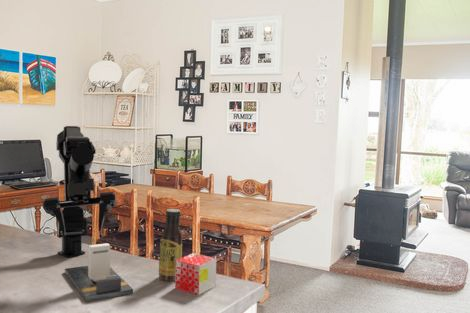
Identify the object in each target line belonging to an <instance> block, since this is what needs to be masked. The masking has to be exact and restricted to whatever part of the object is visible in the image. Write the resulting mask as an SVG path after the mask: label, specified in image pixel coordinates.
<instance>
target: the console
mask: <svg viewBox="0 0 470 313" xmlns="http://www.w3.org/2000/svg"><path fill="white" fill-rule="evenodd" d="M64 274H65V275H66V277H67V278H68V279H69V281H70V282H71V283H72V285H73V286H74V287H75V289H76V290H77V292H78V293H79V294H80V296H81V297H82V298H83V299H84V301H85V302H86V303H87V302H93V301H98V300H99V301H100V300H103V299H110V298H111V299H112V298H115V297H116V298H118V297H121V296H127V295H134V288H132V287H131V286H130V285H129V284H128V282H126V281H125V280H124V279H123V278H122V277H121V276H120V275H119V274H118V273H117V272H116V271H115V270H113V269H112V267H110V277H107V279H105V280H99V281H96V282H94V281H93V279H90V278H89V277H88V265H84V266H83V265H82V266H76V267H68V268H67V267H66V268H64Z"/></svg>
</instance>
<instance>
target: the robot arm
mask: <svg viewBox="0 0 470 313" xmlns="http://www.w3.org/2000/svg"><path fill="white" fill-rule="evenodd" d="M90 140H91V139H90V138H89V137H87V136H84V134H83V133H82V132H81V127H80V126H78V125H66V126H63V130H62V131H60V132H59V133H58V134H57V135H56V151H58V158H59V159H60V161H61V162H62V163H63V173H64V174H63V175H64V176H63V177H64V180H63V181H64V200H60V197H50V198H49V197H47V198H44V200H43V202H42V208H43V211H44V212H45V213H46V214H47V215H51V217H55V218H56V219H57V220H56V221H57V236H58V239H59V238H61V250H59V251H57V254H58V255H61V256H64V257H66V258H71V257H75V256H76V257H77V256H79V255H84V254H86V251H84V250H82V248H83V247H82V246H83V245H82V243H83V242H82V237H86V235H88V225H89V222H88V220H87V218H86V217H85V212H84V209H83V206H96V205H99V213H98V232H100V233H101V231H102V228H103V225H104V221H105V218H106V217H107V214H108V212H109V211H112V210H113V208H114V207H117V197H116V193H115V192H114V191H107V192H100V194H99V196H98V197H92V191H95V190H96V186H95V179H94V178H91V173H90V172H91V171H90V169H91V168H92V163H93V161H94V158H95V155H96V148H95V146H94V144H93V142H92V141H90Z"/></svg>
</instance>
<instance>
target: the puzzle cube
mask: <svg viewBox="0 0 470 313" xmlns="http://www.w3.org/2000/svg"><path fill="white" fill-rule="evenodd" d="M216 280H217V258H216V257H212V256H207V255H203V254H200V253H199V254H198V253H194V252H193V253H190V254H188V255H184V256H182V258H180V259H177V260H176V276H175V280H174V282H175V285H174V287H175V289H178V290H179V291H180V290H181V291H184V292H186V293H187V292H188V293H191V294H195V295H201V294H203V293H205V292H207V291H209V290H210V289H212V288H214V287H216V284H217V282H216Z"/></svg>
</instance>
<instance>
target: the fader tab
mask: <svg viewBox="0 0 470 313" xmlns="http://www.w3.org/2000/svg"><path fill="white" fill-rule="evenodd" d="M87 266H88V277H89V278H90V279H93V281H94V282H96V281H99V280H105V279H107V277H110V268H111V245H110V244H109V243H108V242H107V243H106V242H105V243H99V244H98V243H97V244H90V245H88V265H87Z"/></svg>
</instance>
